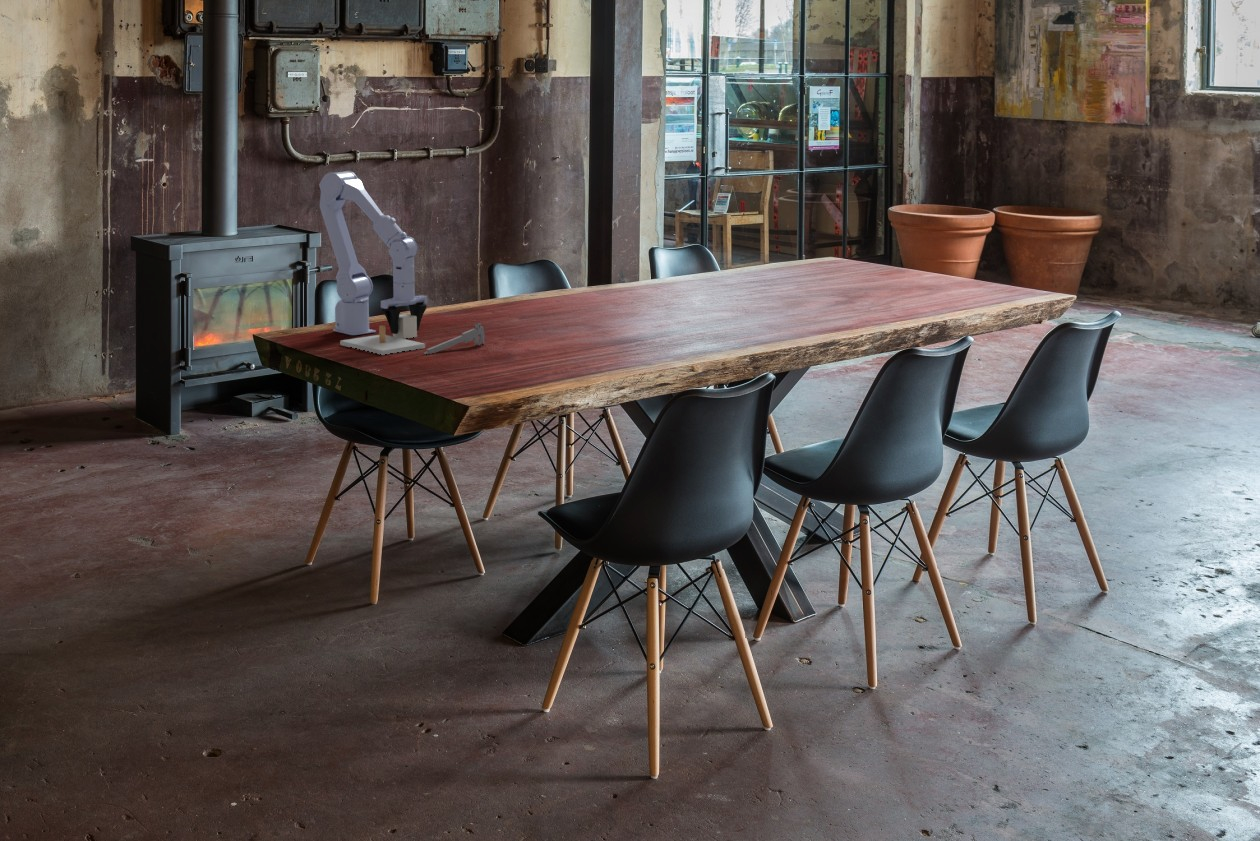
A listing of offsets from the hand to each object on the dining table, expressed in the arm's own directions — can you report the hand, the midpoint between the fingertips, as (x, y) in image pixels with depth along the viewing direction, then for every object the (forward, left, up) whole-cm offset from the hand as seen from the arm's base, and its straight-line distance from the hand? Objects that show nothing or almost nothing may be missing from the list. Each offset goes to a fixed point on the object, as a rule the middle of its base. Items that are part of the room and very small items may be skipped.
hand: (404, 331), depth 383 cm
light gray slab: (+7, -13, -1) cm, 15 cm away
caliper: (+22, -1, -2) cm, 22 cm away
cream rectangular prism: (0, 0, -1) cm, 1 cm away
